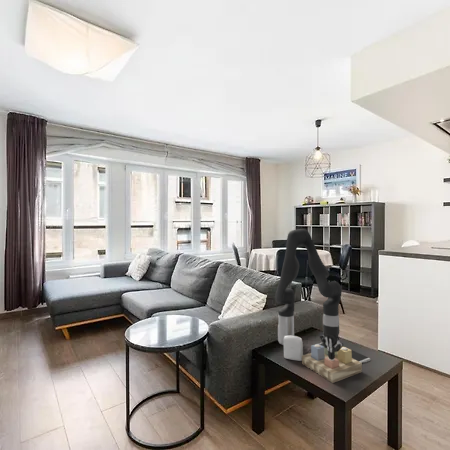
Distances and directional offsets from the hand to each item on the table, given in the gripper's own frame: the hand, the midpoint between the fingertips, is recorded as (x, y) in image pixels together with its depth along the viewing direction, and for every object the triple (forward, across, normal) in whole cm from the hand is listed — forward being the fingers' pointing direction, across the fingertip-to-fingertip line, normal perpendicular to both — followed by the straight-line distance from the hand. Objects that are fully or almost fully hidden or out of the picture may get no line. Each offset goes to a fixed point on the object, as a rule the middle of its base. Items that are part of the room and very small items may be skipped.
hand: (331, 358), depth 138 cm
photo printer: (+8, -22, -5) cm, 24 cm away
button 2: (+3, -9, +9) cm, 13 cm away
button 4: (+3, 0, +9) cm, 10 cm away
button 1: (+3, -9, 0) cm, 10 cm away
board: (+8, -5, +5) cm, 10 cm away
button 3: (+6, 0, 0) cm, 6 cm away
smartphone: (+8, -14, +22) cm, 28 cm away
